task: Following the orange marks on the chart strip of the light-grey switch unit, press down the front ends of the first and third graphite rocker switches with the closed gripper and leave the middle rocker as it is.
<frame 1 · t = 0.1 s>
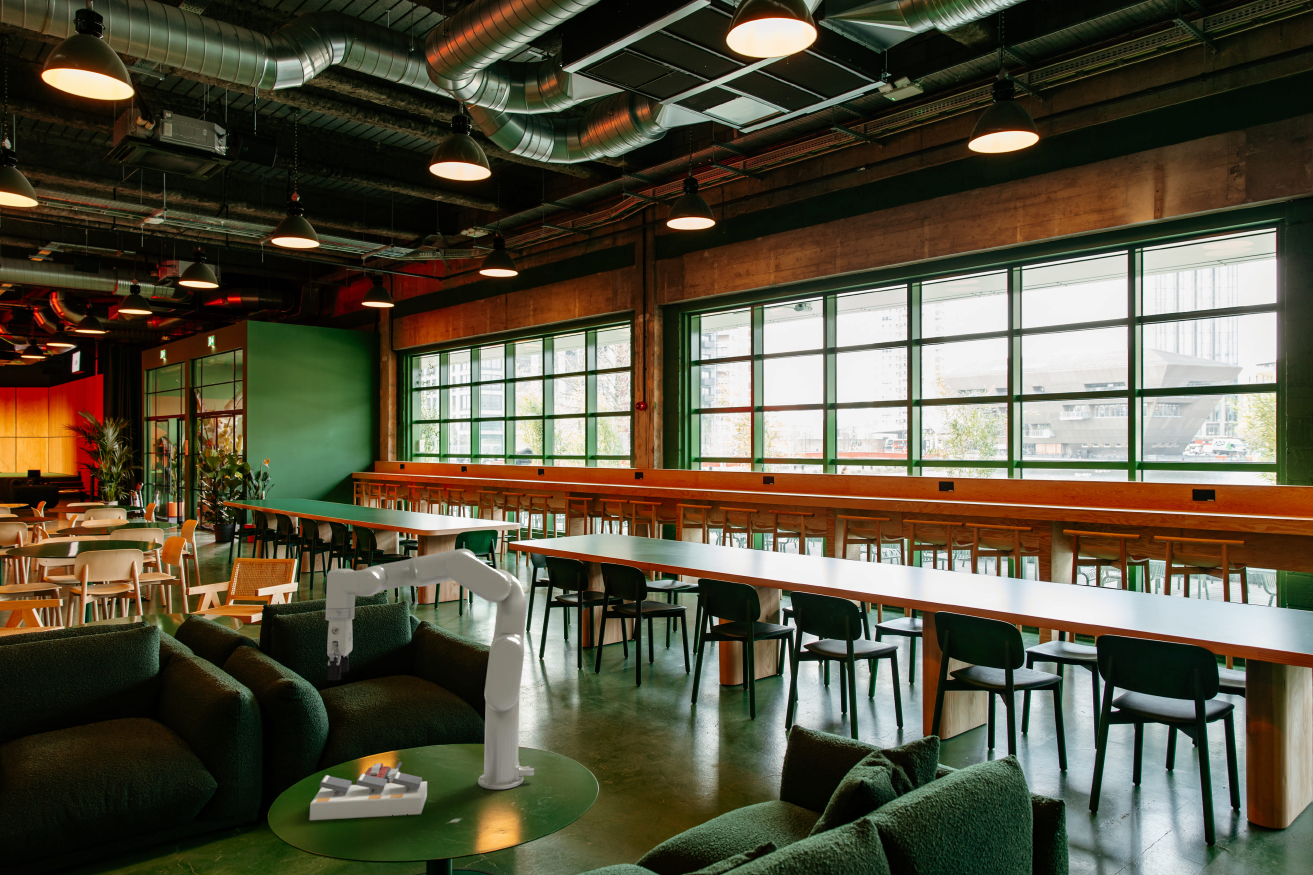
hand: (338, 675, 223), 31 cm above the table, tool pointing down, fingers open, 9 cm apart
walkie-talkie: (381, 780, 231), on the table
rocker 2: (372, 781, 211), point 6 cm above the table, hinge at -15.0°
switch unit: (370, 807, 209), on the table
rocker 3: (336, 783, 209), point 6 cm above the table, hinge at -15.0°
rocker 1: (407, 779, 212), point 6 cm above the table, hinge at -15.0°
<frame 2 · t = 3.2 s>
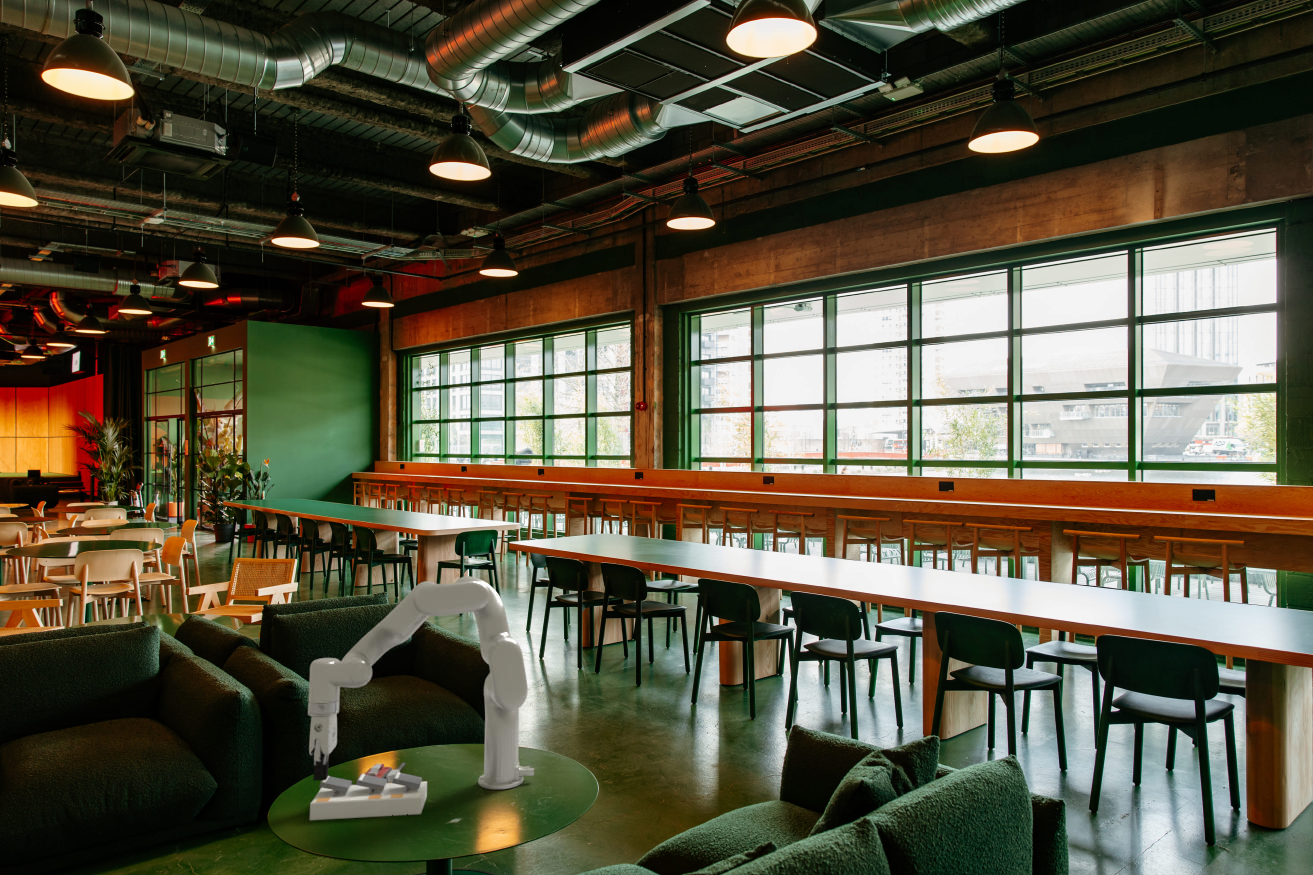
hand: (320, 778, 209), 8 cm above the table, tool pointing down, fingers closed
rocker 3: (336, 783, 209), point 6 cm above the table, hinge at -14.3°, touching gripper
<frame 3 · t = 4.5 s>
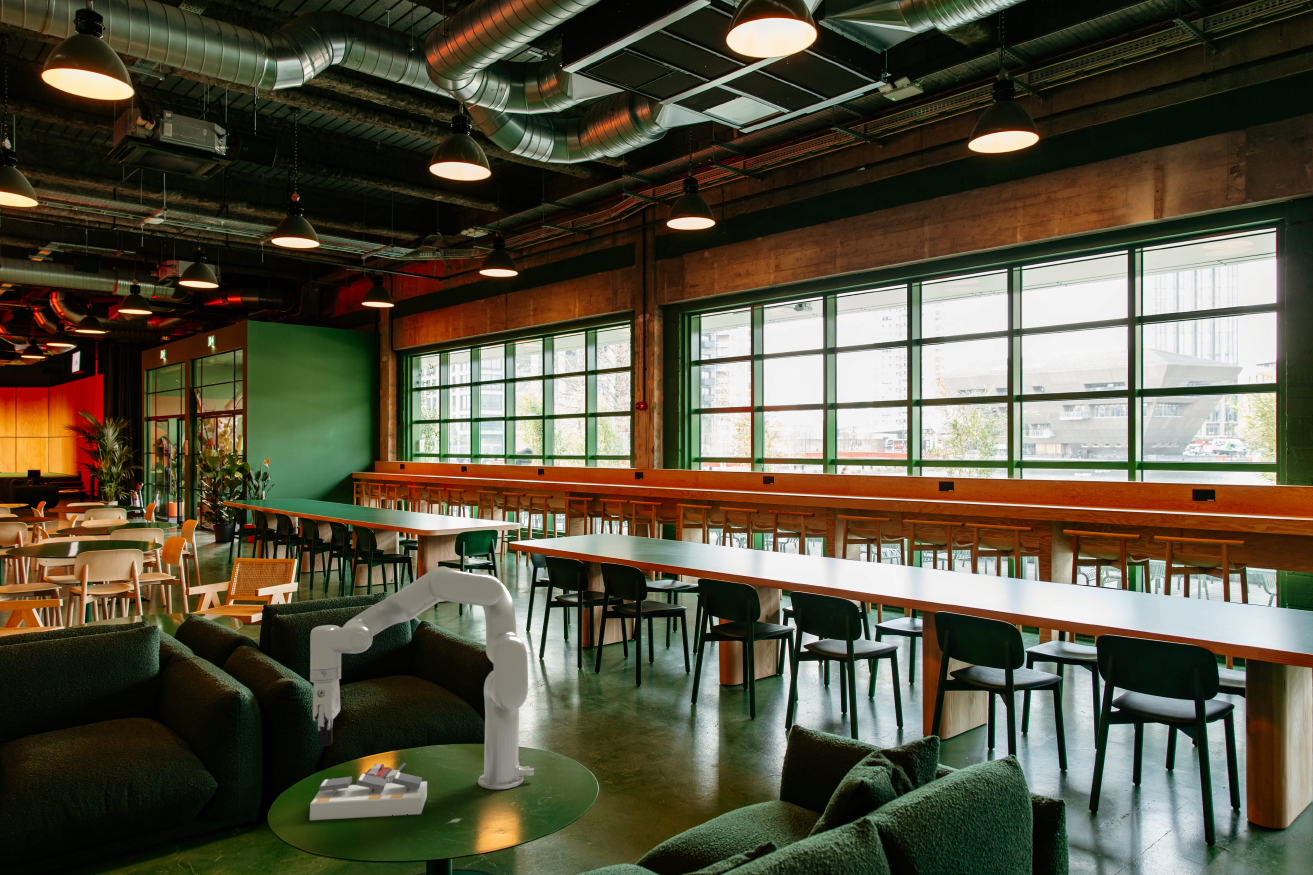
hand: (325, 744, 210), 16 cm above the table, tool pointing down, fingers closed
rocker 3: (335, 783, 209), point 6 cm above the table, hinge at 4.8°
everything else where it was.
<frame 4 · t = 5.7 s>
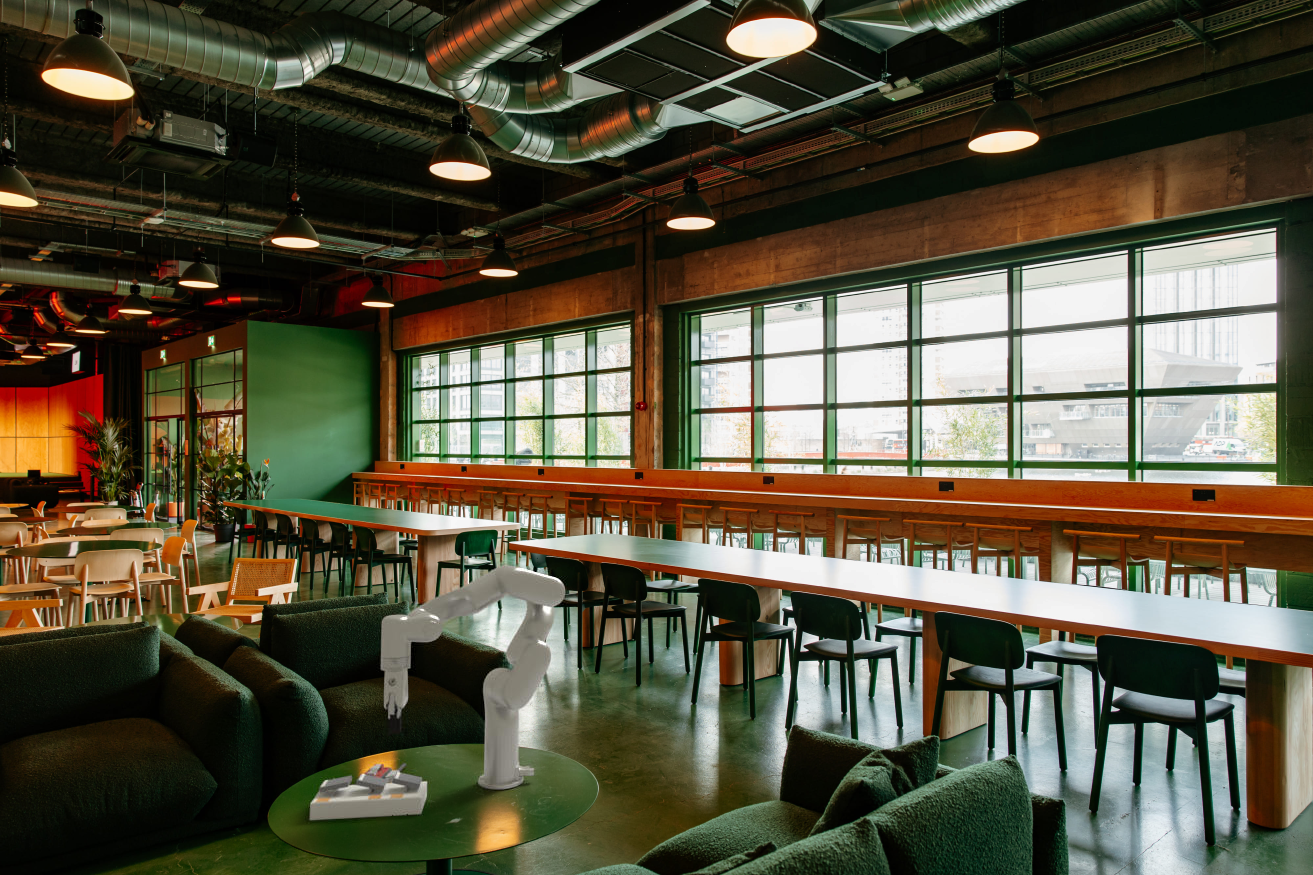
hand: (394, 732, 212), 19 cm above the table, tool pointing down, fingers closed
rocker 3: (335, 783, 209), point 6 cm above the table, hinge at 9.1°
everything else where it was.
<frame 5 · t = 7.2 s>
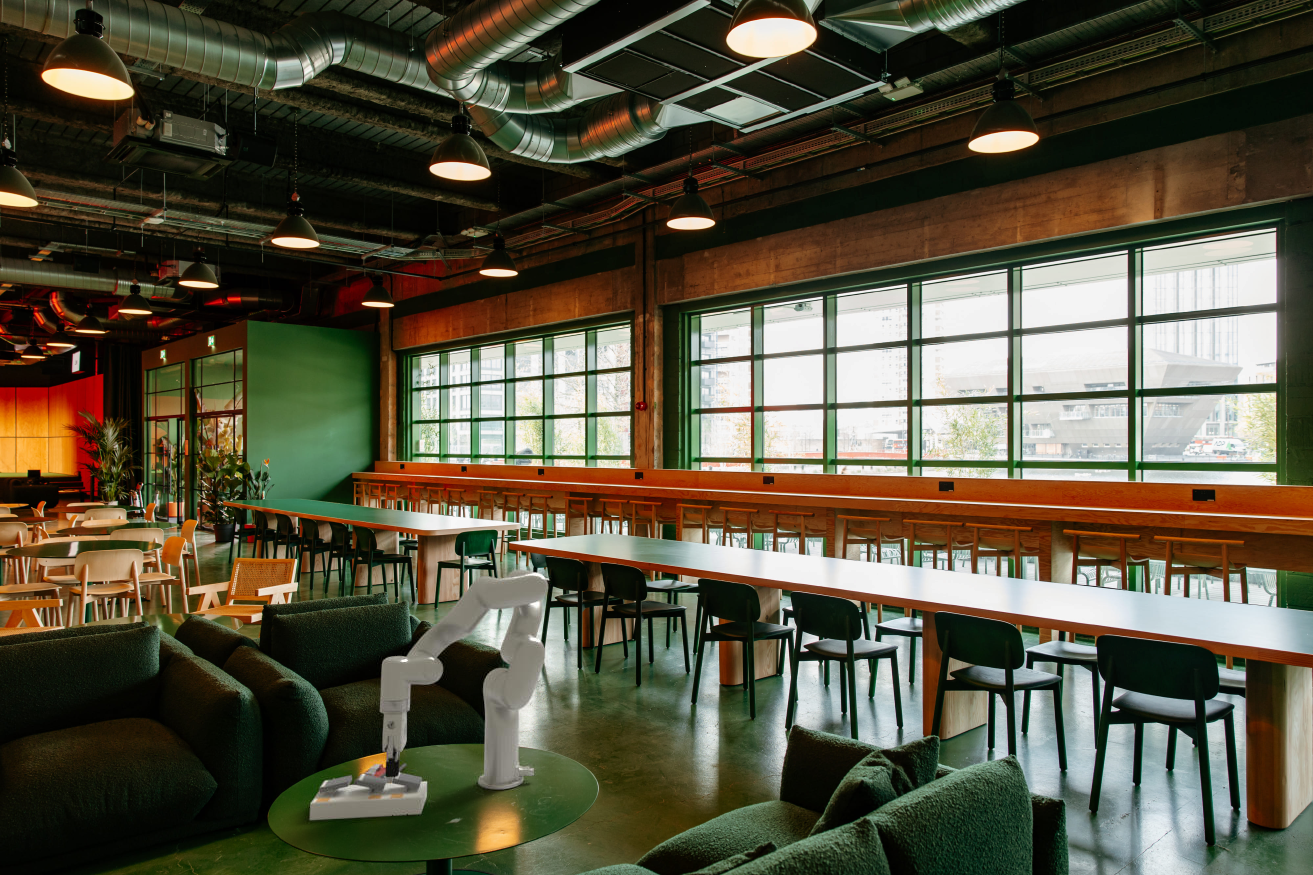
hand: (392, 775, 212), 8 cm above the table, tool pointing down, fingers closed
rocker 3: (335, 783, 209), point 6 cm above the table, hinge at 10.3°
rocker 1: (407, 779, 212), point 6 cm above the table, hinge at -14.5°, touching gripper
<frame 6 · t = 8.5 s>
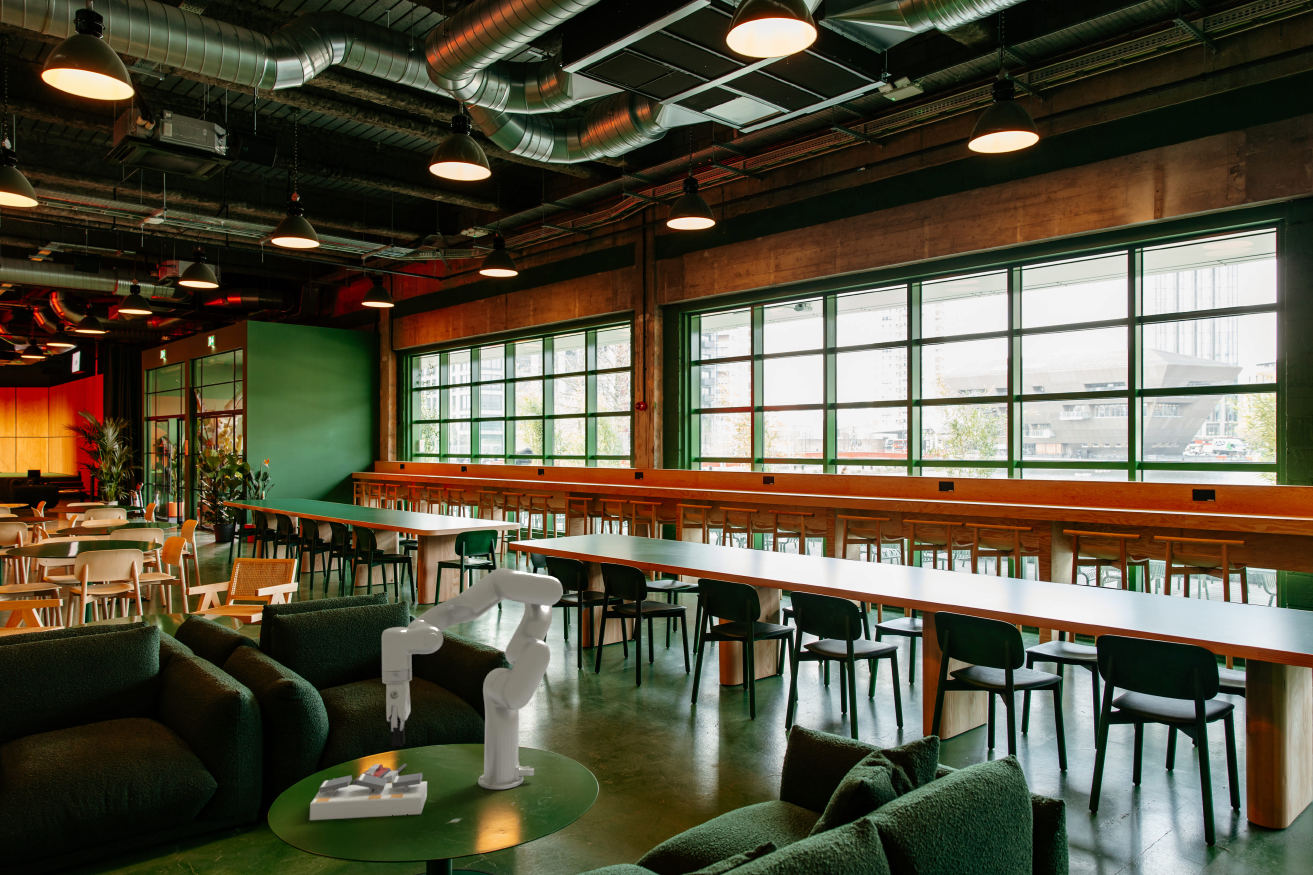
hand: (397, 744, 213), 15 cm above the table, tool pointing down, fingers closed
rocker 1: (407, 779, 212), point 6 cm above the table, hinge at 5.9°
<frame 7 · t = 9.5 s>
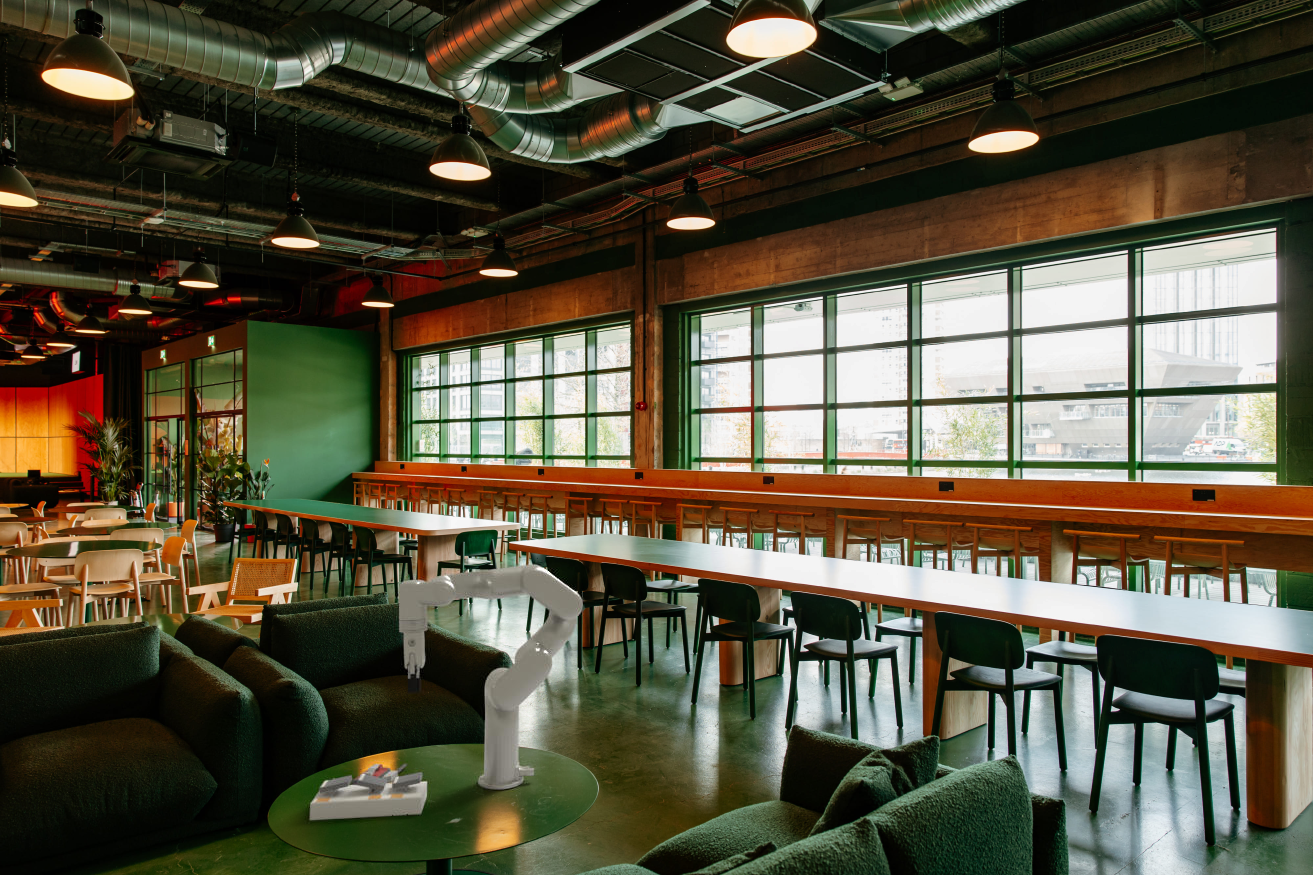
hand: (414, 691, 223), 27 cm above the table, tool pointing down, fingers closed
rocker 1: (407, 779, 212), point 6 cm above the table, hinge at 9.3°
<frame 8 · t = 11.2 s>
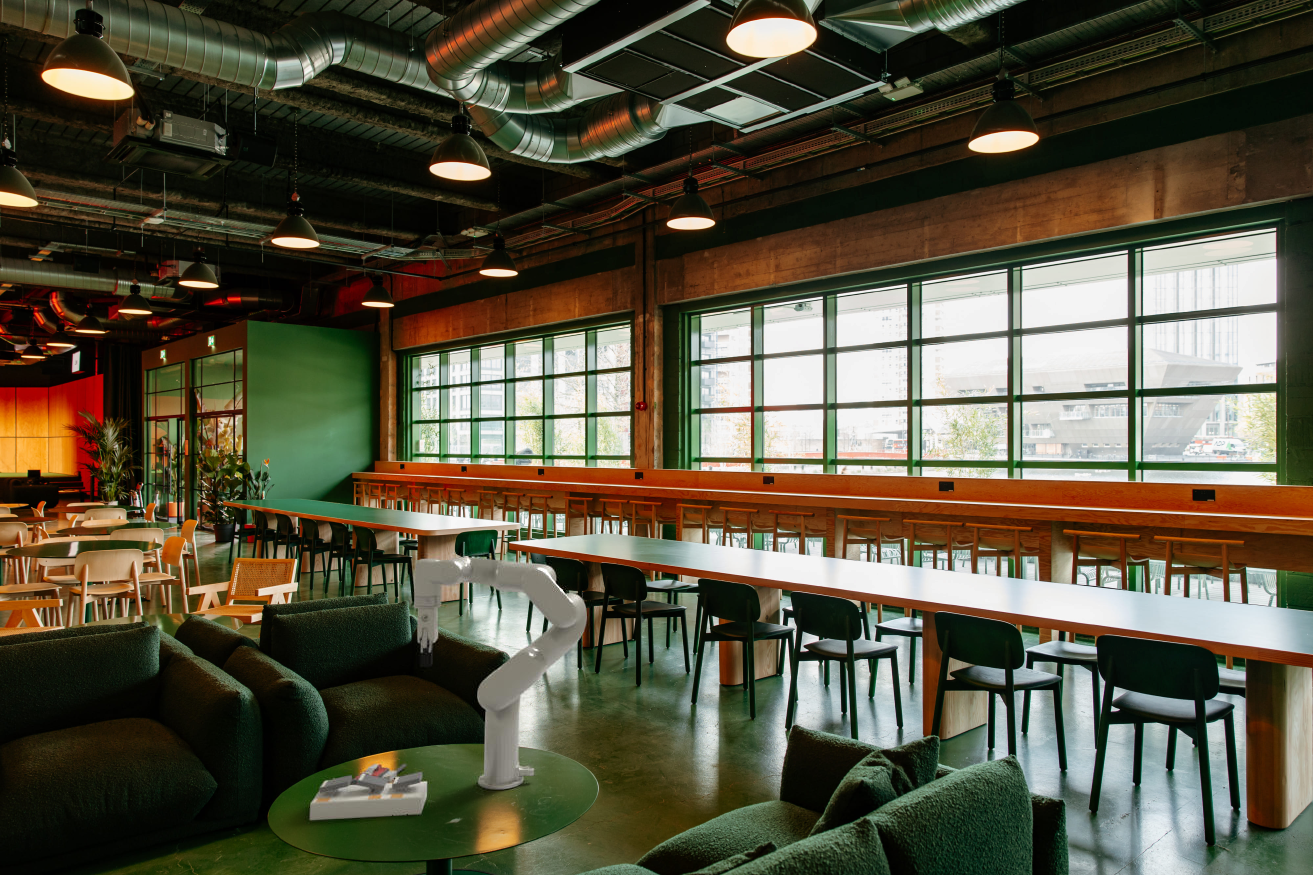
hand: (426, 665, 232), 32 cm above the table, tool pointing down, fingers closed
rocker 1: (407, 779, 212), point 6 cm above the table, hinge at 10.7°
at the end: rocker 1 at +11° (first picture: -15°); rocker 3 at +11° (first picture: -15°); rocker 2 at -15° (first picture: -15°) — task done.
